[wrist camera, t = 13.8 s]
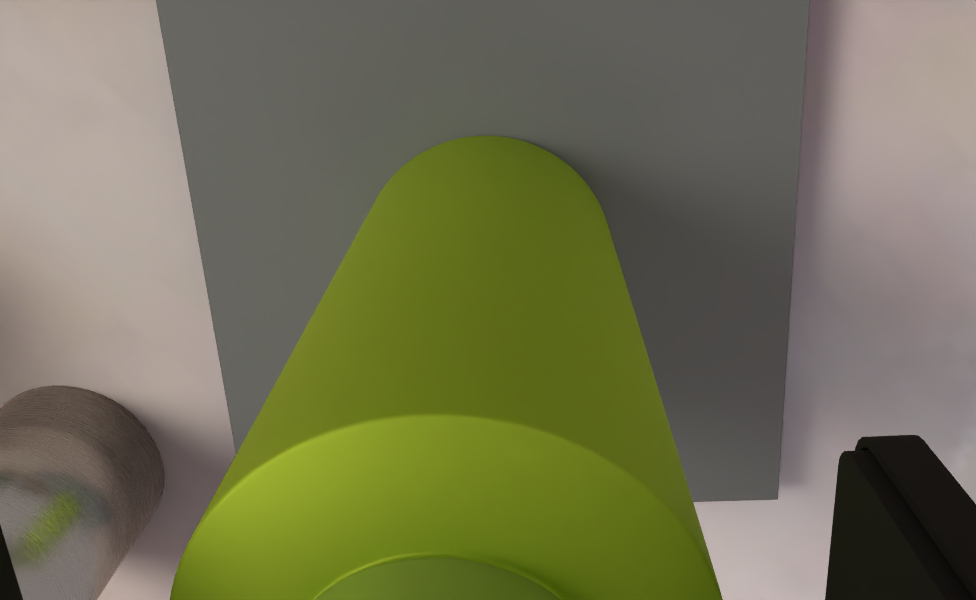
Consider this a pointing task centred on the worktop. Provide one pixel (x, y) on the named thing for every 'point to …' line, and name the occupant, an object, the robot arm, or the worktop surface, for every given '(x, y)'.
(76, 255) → the worktop surface
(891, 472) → the robot arm
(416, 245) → the lime spray bottle
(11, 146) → the worktop surface
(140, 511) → the metal tin
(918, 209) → the worktop surface
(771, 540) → the worktop surface
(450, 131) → the plate
